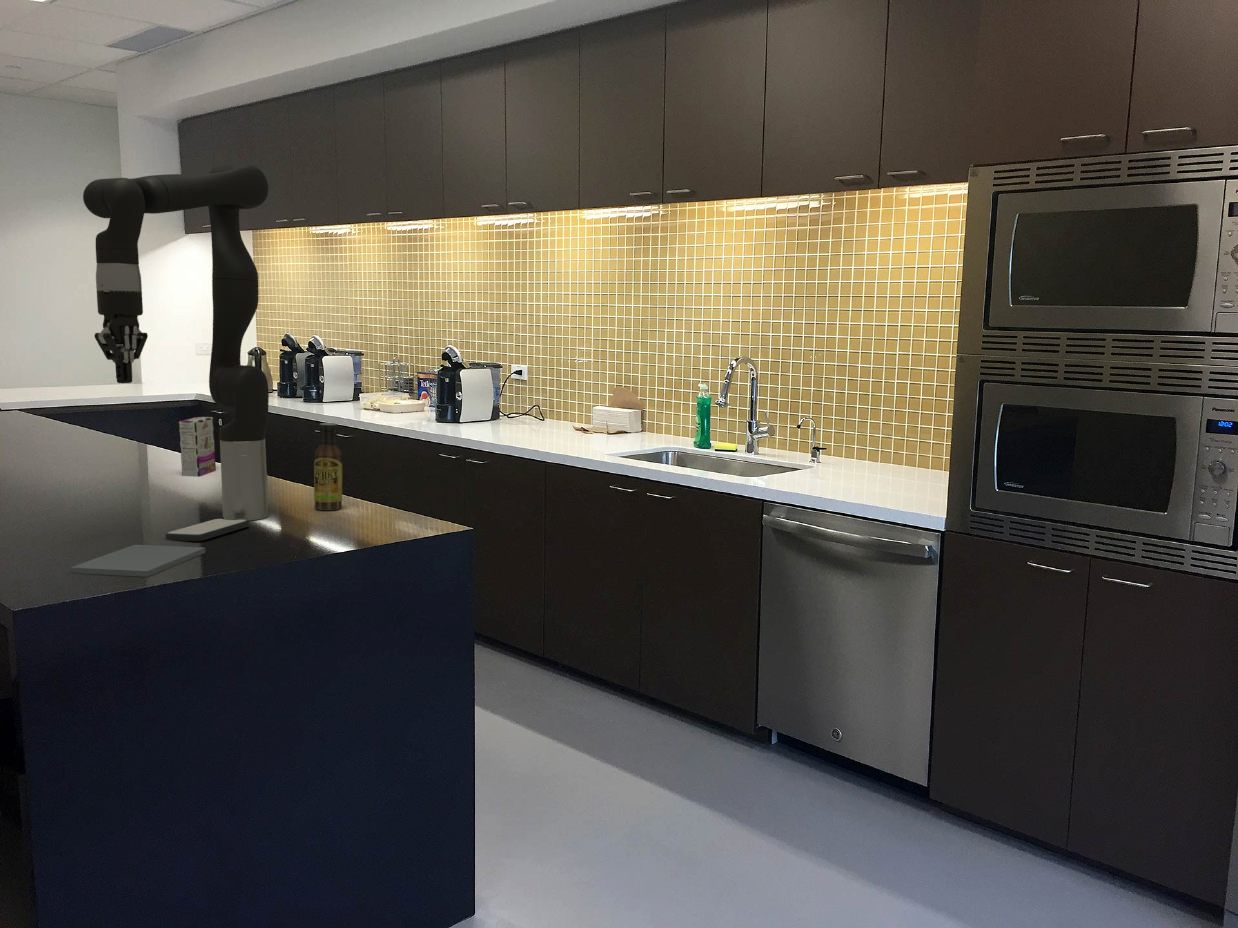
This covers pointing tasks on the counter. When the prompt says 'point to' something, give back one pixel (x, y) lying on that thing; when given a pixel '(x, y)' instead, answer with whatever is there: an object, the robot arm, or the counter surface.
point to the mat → (138, 560)
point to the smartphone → (207, 530)
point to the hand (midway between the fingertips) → (124, 382)
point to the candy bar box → (197, 446)
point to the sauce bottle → (328, 470)
